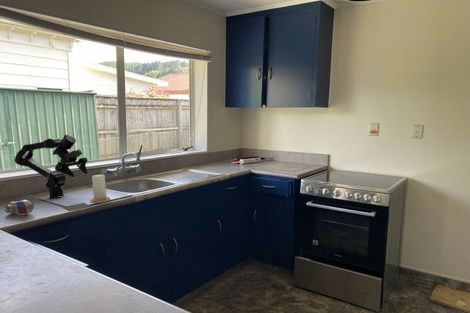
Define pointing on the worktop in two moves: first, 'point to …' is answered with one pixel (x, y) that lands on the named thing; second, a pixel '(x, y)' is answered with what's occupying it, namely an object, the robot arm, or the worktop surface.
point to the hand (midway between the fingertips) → (80, 175)
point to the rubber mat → (76, 206)
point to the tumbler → (99, 187)
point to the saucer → (100, 200)
